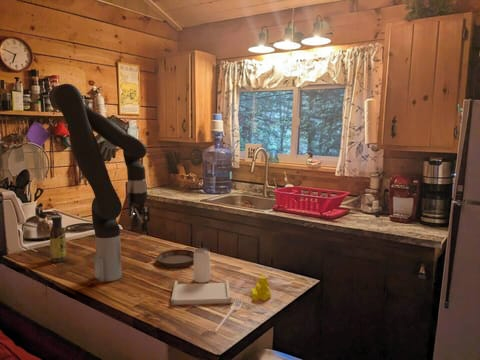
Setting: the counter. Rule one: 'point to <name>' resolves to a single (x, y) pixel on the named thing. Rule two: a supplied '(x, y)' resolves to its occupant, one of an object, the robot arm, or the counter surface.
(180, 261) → the plant saucer
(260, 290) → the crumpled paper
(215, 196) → the counter surface
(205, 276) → the can
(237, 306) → the fork
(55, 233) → the sauce bottle
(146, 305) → the counter surface
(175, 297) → the tray
